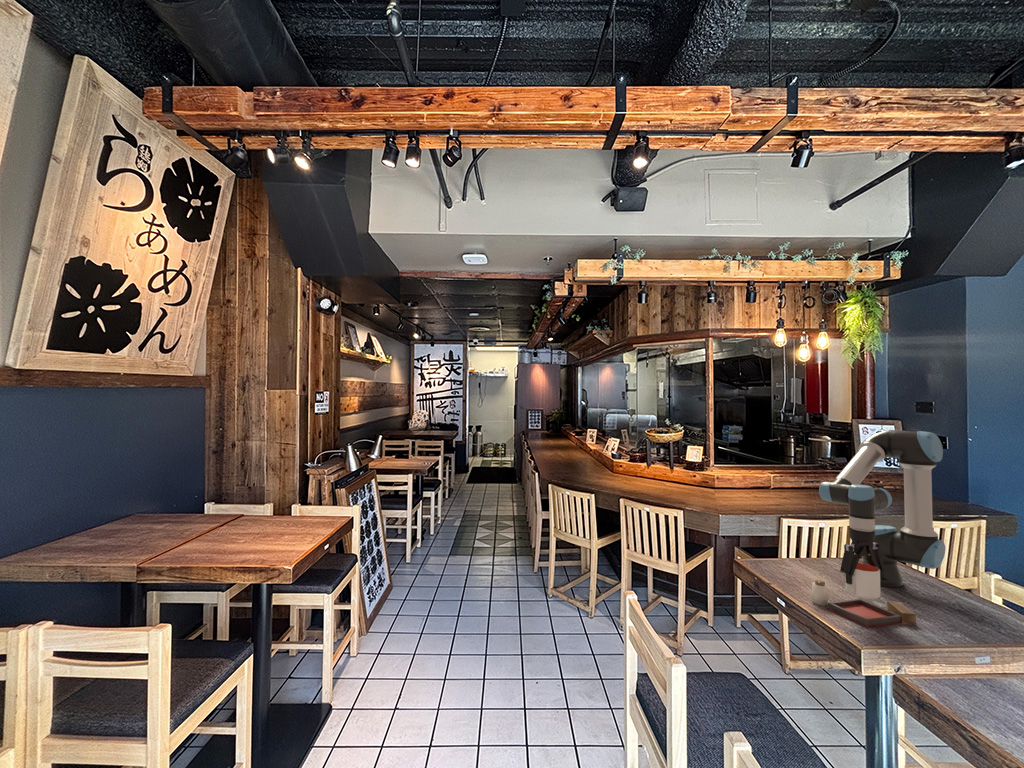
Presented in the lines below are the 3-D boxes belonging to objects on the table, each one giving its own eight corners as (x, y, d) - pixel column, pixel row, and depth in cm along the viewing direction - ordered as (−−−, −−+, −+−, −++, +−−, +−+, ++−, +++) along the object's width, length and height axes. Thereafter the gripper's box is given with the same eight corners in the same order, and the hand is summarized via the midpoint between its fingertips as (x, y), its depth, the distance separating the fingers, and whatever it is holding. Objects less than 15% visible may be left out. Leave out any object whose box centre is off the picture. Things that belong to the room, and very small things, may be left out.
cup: (886, 602, 163) (886, 572, 163) (854, 599, 165) (853, 570, 165) (871, 591, 173) (870, 563, 173) (840, 588, 175) (840, 561, 175)
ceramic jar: (819, 599, 182) (819, 578, 183) (831, 605, 178) (831, 583, 178) (809, 601, 181) (809, 579, 181) (820, 606, 176) (820, 584, 177)
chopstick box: (900, 613, 171) (900, 602, 172) (916, 626, 162) (915, 614, 162) (887, 612, 172) (887, 600, 173) (902, 624, 163) (902, 612, 163)
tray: (859, 605, 178) (859, 598, 178) (901, 623, 163) (901, 616, 163) (827, 609, 174) (827, 602, 174) (867, 628, 159) (867, 620, 160)
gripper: (875, 524, 176) (876, 585, 175) (827, 527, 171) (828, 590, 170) (896, 529, 169) (897, 593, 168) (846, 533, 163) (847, 598, 162)
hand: (862, 591), depth 169 cm, fingers closed on cup, 10 cm apart
